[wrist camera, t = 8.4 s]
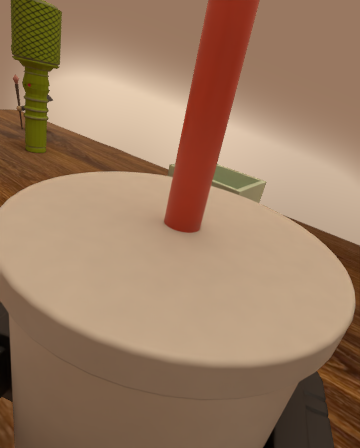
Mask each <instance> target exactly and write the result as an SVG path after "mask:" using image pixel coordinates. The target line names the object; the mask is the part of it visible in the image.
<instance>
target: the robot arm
mask: <svg viewBox="0 0 360 448" xmlns="http://www.w3.org/2000/svg"><path fill="white" fill-rule="evenodd" d="M1 397H4V398H6V399H8V400H10V401H12V402H13V394H12V373H11V351H10V329H9V313H8V311H7V310H6V308H5V307H4V305H3V304H2V302H0V398H1ZM325 399H326V398H325V393H324V387H323V381H322V379H321V377H320V376H319V374H318V372H317V371H316V372H315V373H313V374H311V375H310V376H308V377H306V378H305V379H303V380H301V381H299V383H298V385H297V387H296V388H295V390H294V392H293V394H292V396H291V398H290V399H289V401H288V403H287V405H286V407H285V408H284V410H283V412H282V414H281V416H280V418H279V419H278V421H277V423H276V425H275V427H274V428H273V430H272V432H271V434H270V436H269V438H268V439H267V441H266V443H265V445H264V447H263V448H334V443H333V438H332V432H331V426H330V421H329V418H328V409H327V404H326V402H325Z"/></svg>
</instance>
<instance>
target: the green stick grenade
mask: <svg viewBox="0 0 360 448" xmlns="http://www.w3.org/2000/svg"><path fill="white" fill-rule="evenodd" d="M61 16H62V12H61V11H60V10H58V8H56V7H55V6H54V5H51V4H49V3H47V2H46V1H42V0H11V24H12V25H11V28H12V45H11V50H12V54H13V55H14V56H12V57H13V58H14V59H15V60H19V61H20V63H21V64H22V65H23V66H25V71H24V72H25V74H24V78H23V82H22V83H23V87H24V89H25V92H26V95H25V96H24V98H25V100H26V102H25V106H24V108H25V113H24V116H25V143H26V150H27V151H30V152H35V153H44V152H46V147H45V146H46V130H47V120H48V117H47V112H48V109H47V103H48V99H47V95H48V93H49V91H50V90H48V86H49V81H48V77H49V76H48V72H49V71H51V70H52V69H53V68H56V69H57V68H59V67H58V65H59V64H60V41H61Z"/></svg>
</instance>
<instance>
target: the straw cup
mask: <svg viewBox="0 0 360 448" xmlns="http://www.w3.org/2000/svg"><path fill="white" fill-rule="evenodd" d="M259 1H260V0H208V5H207V10H206V15H205V20H204V25H203V30H202V35H201V39H200V44H199V50H198V54H197V59H196V65H195V69H194V74H193V80H192V84H191V89H190V94H189V99H188V104H187V109H186V114H185V119H184V124H183V129H182V134H181V139H180V144H179V148H178V154H177V159H176V163H175V168H174V173H173V177H169V176H162V175H155V174H147V173H135V172H90V173H80V174H72V175H66V176H61V177H56V178H53V179H49V180H45V181H42V182H39V183H37V184H34V185H31V186H29V187H27V188H25V189H23V190H21V191H19V192H18V193H16V194H15V195H14V196H12V197H11V198H9V199H8V200H7V201H6V202H5V203H4V204H3V205H2V206H1V207H0V301H1V302H2V304H3V305H4V307H5V308H6V310H7V311H8V313H9V329H10V351H11V373H12V394H13V416H14V438H15V448H263V447H264V445H265V443H266V441H267V439H268V438H269V436H270V434H271V432H272V430H273V428H274V427H275V425H276V423H277V421H278V419H279V418H280V416H281V414H282V412H283V410H284V408H285V407H286V405H287V403H288V401H289V399H290V398H291V396H292V394H293V392H294V390H295V388H296V387H297V385H298V383H299V381H301V380H303V379H305V378H306V377H308V376H310V375H311V374H313V373H315V372H316V371H317V370H318V369H319V368H320V367H321V366H322V365H323V364H325V363H326V362H327V361H328V360H329V359H330V357H331V356H332V354H333V352H334V351H335V349H336V347H337V346H338V344H339V342H340V341H341V339H342V337H343V335H344V334H345V332H346V330H347V329H348V327H349V325H350V323H351V322H352V319H353V315H354V311H355V292H354V288H353V285H352V282H351V279H350V277H349V275H348V273H347V271H346V270H345V268H344V266H343V265H342V264H341V262H340V261H339V260H338V258H337V257H336V256H335V255H334V254H333V253H332V252H331V251H330V250H329V248H328V247H327V246H326V245H324V244H323V243H322V242H321V241H320V240H319V239H317V238H316V237H315V236H314V235H312V234H311V233H310V232H308V231H307V230H306V229H304V228H303V227H301V226H300V225H298V224H297V223H295V222H293V221H292V220H290V219H289V218H287V217H285V216H283V215H282V214H280V213H278V212H276V211H274V210H272V209H270V208H268V207H266V206H264V205H262V204H259V203H257V202H255V201H253V200H250V199H248V198H245V197H243V196H240V195H237V194H234V193H232V192H229V191H226V190H223V189H219V188H216V187H213V186H211V184H212V181H213V177H214V173H215V169H216V165H217V161H218V158H219V153H220V150H221V146H222V142H223V138H224V135H225V131H226V127H227V123H228V119H229V115H230V112H231V108H232V104H233V100H234V96H235V92H236V89H237V85H238V81H239V77H240V73H241V69H242V65H243V62H244V58H245V54H246V50H247V46H248V42H249V39H250V35H251V31H252V27H253V23H254V20H255V16H256V12H257V8H258V4H259Z"/></svg>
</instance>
